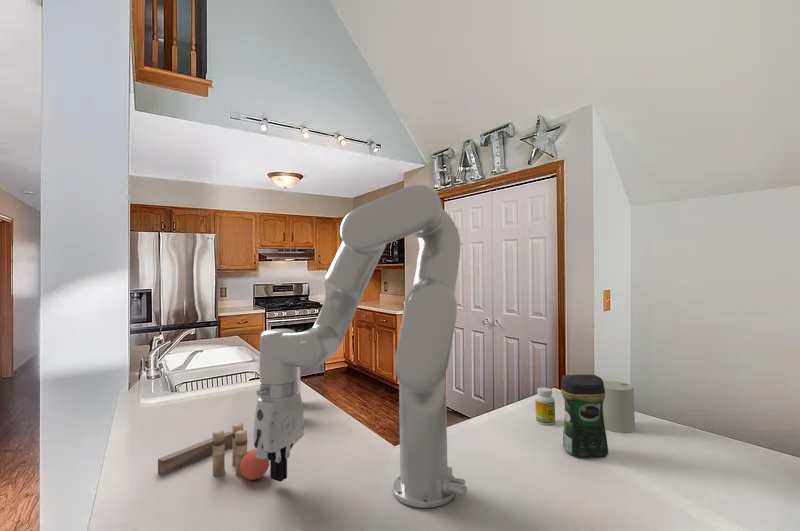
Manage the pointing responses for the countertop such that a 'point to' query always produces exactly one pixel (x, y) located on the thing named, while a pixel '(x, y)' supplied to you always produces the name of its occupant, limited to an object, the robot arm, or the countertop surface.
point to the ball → (253, 465)
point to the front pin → (240, 448)
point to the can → (619, 407)
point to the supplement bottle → (545, 407)
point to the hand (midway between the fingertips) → (278, 478)
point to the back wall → (189, 454)
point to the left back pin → (218, 453)
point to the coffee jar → (584, 416)
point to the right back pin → (234, 429)
